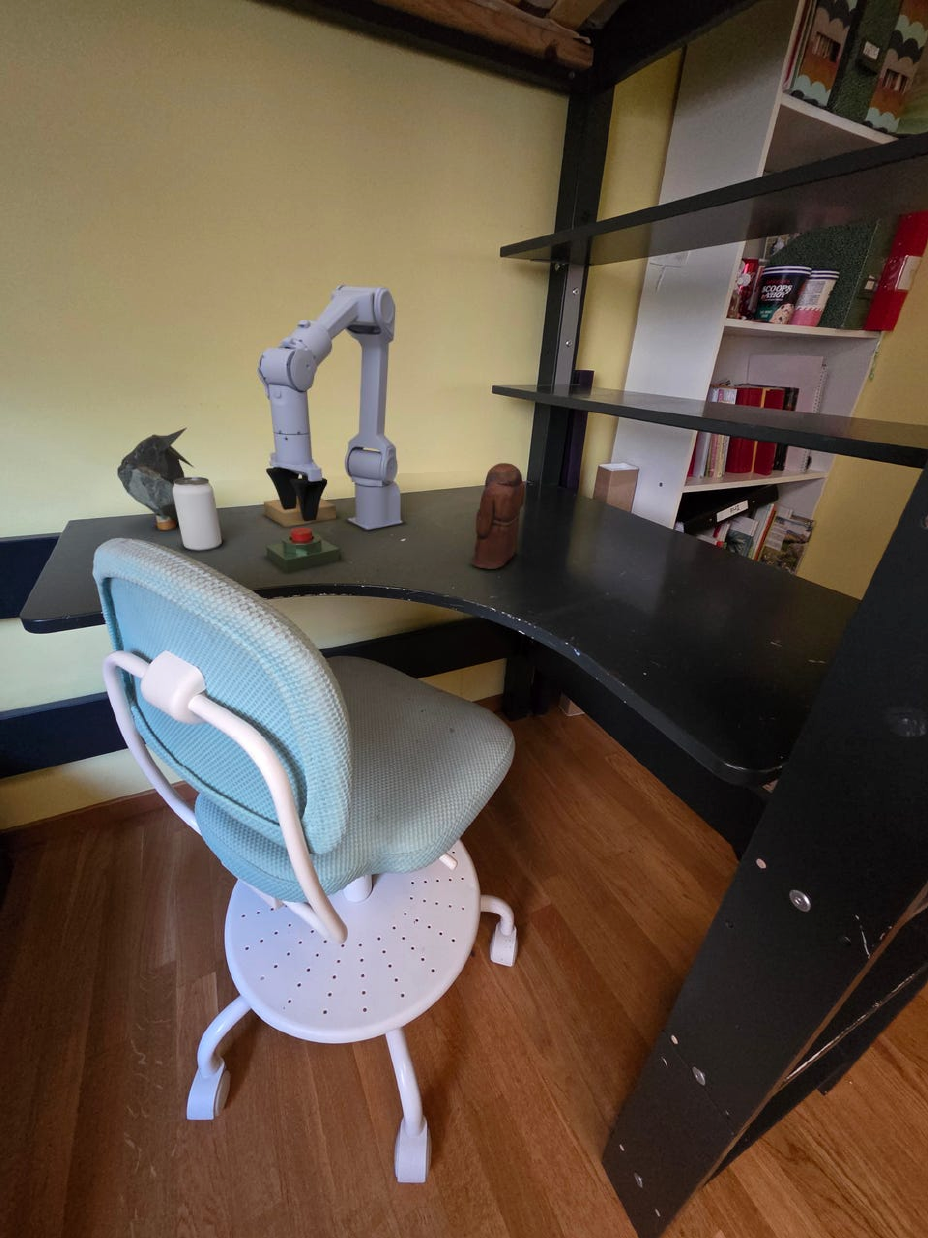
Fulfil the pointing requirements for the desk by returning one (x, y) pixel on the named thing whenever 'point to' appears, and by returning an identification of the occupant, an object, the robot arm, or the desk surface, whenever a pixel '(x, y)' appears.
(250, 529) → the desk surface
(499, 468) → the wooden figurine
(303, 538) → the bell button
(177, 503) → the can
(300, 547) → the green button base
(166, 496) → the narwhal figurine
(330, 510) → the plate
